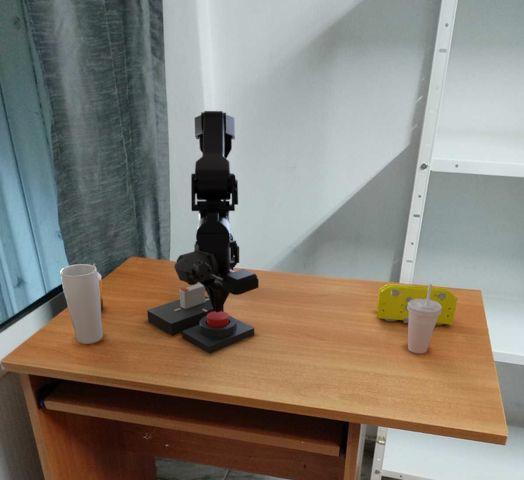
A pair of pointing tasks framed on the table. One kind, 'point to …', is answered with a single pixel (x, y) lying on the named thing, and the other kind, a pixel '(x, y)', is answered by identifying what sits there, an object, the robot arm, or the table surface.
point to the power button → (217, 319)
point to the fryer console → (178, 316)
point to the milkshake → (100, 289)
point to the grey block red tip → (192, 296)
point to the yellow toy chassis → (398, 296)
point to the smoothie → (421, 322)
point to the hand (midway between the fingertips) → (217, 311)
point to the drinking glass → (83, 301)
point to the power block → (217, 335)
